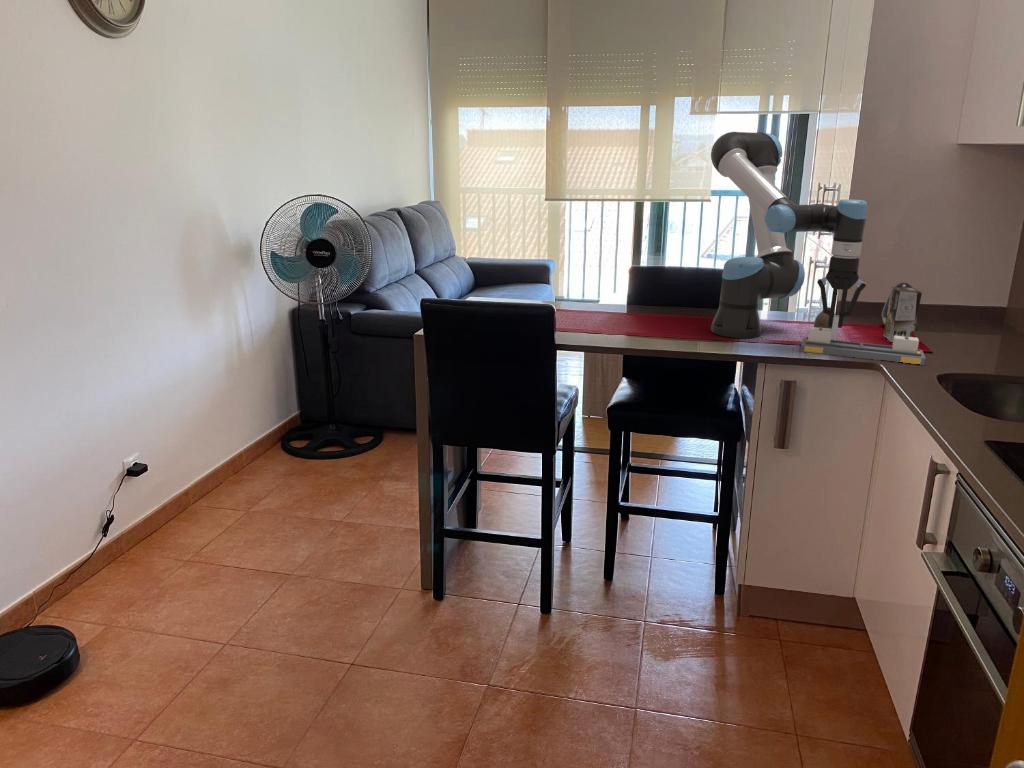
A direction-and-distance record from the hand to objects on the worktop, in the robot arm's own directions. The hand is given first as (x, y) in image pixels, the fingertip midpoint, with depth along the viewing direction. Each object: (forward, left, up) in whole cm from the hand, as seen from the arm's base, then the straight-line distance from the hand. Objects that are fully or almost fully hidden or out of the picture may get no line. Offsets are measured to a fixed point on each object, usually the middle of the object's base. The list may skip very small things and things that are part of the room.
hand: (833, 338), depth 217 cm
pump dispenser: (+20, +43, -4) cm, 47 cm away
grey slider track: (+8, 0, -4) cm, 9 cm away
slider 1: (-4, 0, -2) cm, 4 cm away
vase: (-2, +20, -4) cm, 20 cm away
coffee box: (+19, +23, -4) cm, 30 cm away
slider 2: (+19, 0, -2) cm, 19 cm away
